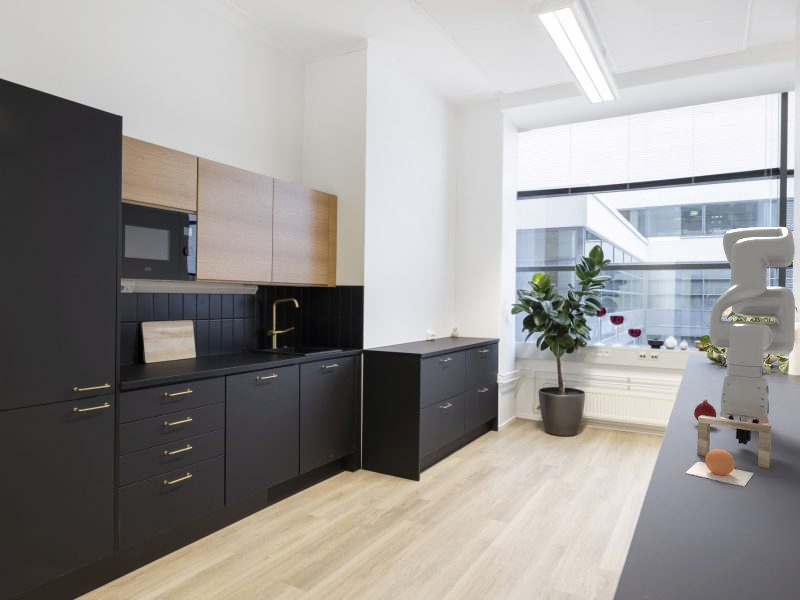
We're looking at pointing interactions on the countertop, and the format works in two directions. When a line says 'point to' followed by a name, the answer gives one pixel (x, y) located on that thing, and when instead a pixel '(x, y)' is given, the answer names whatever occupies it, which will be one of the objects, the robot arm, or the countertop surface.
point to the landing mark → (733, 478)
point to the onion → (704, 410)
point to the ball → (720, 462)
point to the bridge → (763, 430)
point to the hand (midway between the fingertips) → (743, 442)
